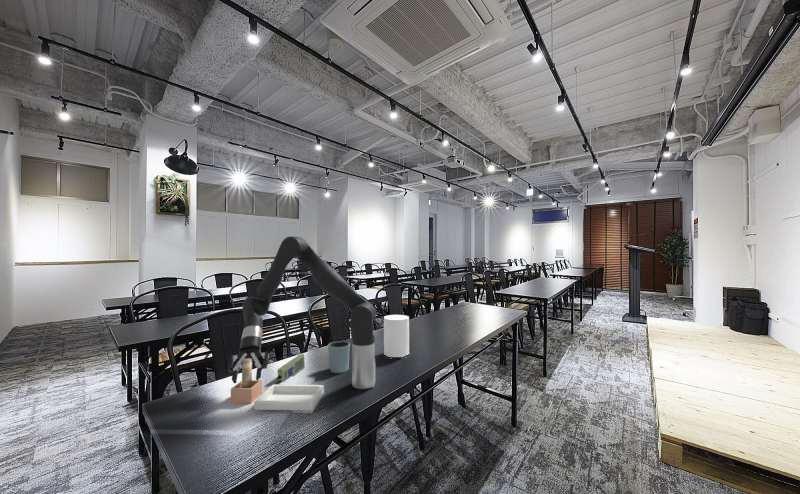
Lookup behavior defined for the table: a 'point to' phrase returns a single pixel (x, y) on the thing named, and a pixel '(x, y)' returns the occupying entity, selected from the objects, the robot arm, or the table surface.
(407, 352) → the canister
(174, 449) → the table surface
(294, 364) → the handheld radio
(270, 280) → the robot arm
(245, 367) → the dowel pin
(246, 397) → the pot
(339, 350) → the teal cup
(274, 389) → the tray
